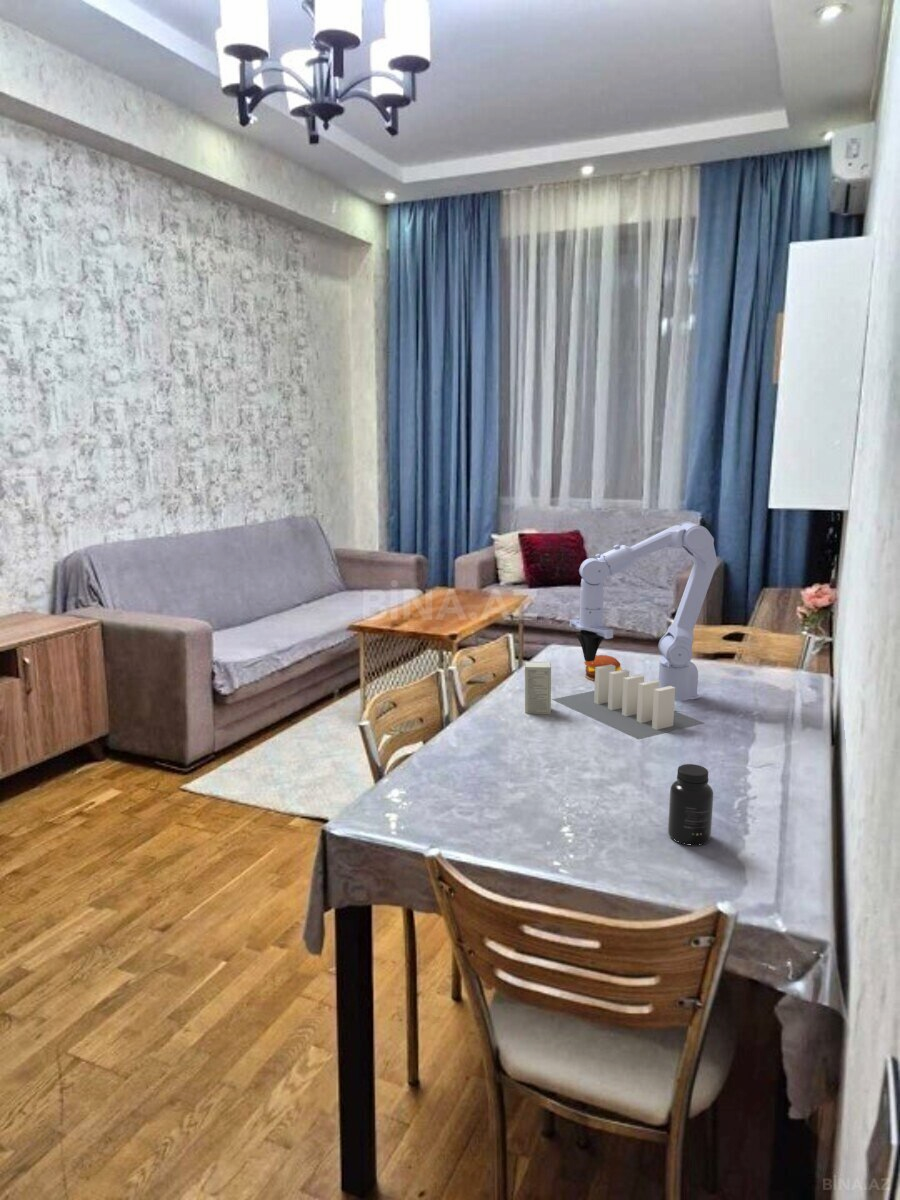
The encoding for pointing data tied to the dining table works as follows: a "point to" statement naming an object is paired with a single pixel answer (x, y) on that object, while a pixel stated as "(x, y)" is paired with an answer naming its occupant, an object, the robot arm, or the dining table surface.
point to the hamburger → (600, 661)
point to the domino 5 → (663, 707)
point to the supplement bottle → (691, 806)
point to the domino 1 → (602, 683)
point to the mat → (621, 716)
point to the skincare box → (538, 687)
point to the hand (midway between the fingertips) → (589, 660)
